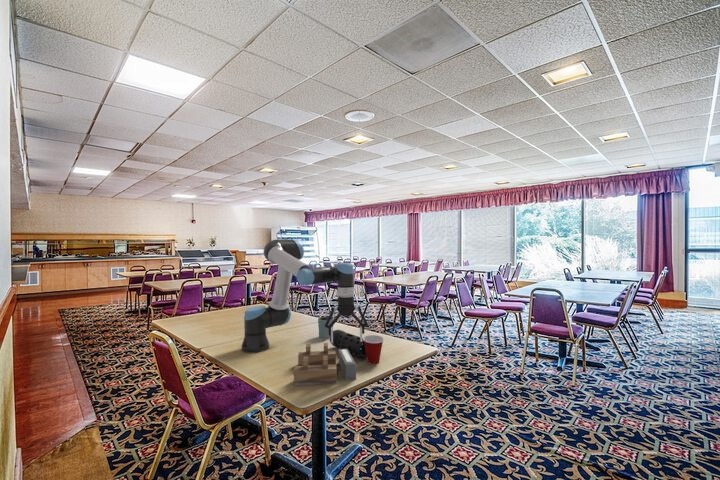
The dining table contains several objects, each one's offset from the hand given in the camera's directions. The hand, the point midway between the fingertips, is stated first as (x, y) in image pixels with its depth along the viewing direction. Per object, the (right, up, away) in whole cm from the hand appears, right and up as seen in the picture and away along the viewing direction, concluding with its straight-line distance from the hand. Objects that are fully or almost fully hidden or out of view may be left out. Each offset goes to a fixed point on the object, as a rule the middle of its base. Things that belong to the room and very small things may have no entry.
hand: (346, 341), depth 162 cm
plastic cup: (+13, -14, +11) cm, 22 cm away
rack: (-14, -14, -2) cm, 20 cm away
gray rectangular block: (0, -14, 0) cm, 14 cm away
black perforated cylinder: (+1, -14, +26) cm, 30 cm away
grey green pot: (-15, -14, +57) cm, 61 cm away
